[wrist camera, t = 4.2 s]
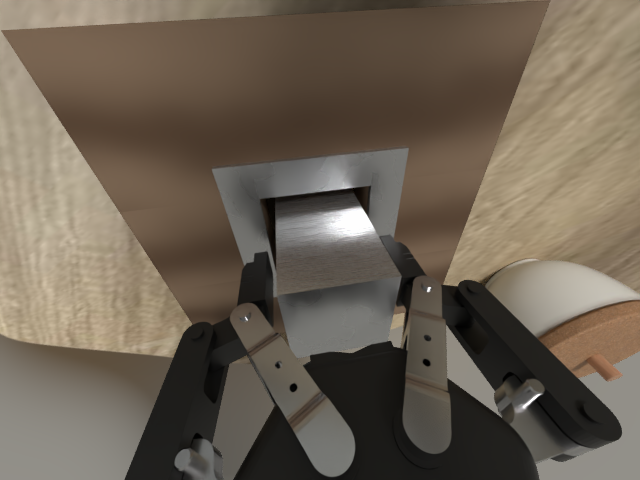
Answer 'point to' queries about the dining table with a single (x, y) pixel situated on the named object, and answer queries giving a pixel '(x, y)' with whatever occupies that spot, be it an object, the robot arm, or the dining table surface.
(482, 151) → the mount plate
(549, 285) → the lidded bowl
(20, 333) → the dining table surface
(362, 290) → the brushed steel block
